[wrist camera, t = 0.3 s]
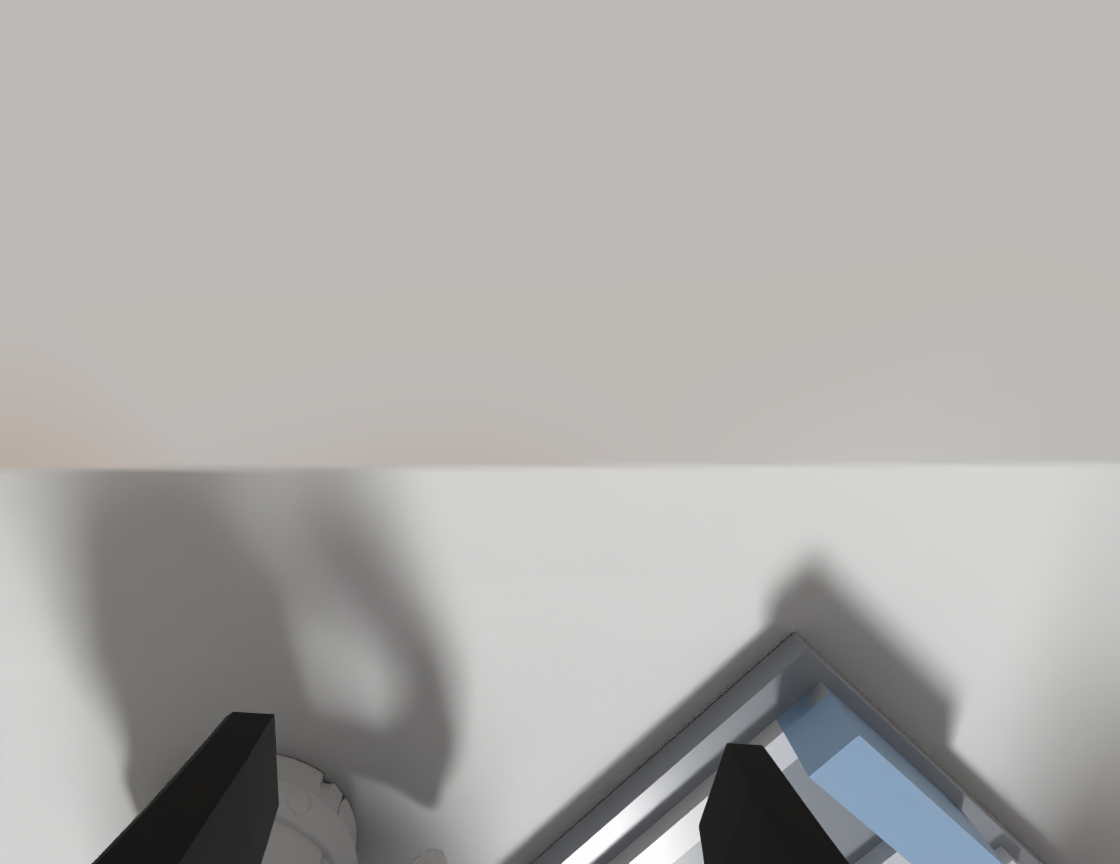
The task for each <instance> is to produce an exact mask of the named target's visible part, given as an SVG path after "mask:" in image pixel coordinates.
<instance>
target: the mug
mask: <svg viewBox="0 0 1120 864" xmlns="http://www.w3.org/2000/svg"><path fill="white" fill-rule="evenodd" d="M276 757H277V775H278V794H279V807H278V810H277V813H276V817H275V820H274V823H273V827H272V830H271V834H270V837H269V840H268V844H267V847H266V850H265V853H264V856H263V860H262V863H261V864H358V858H357V853H356V843H357V827H356V821H355V817H354V813H353V811H352V809H351V806H350V804H349V802H348V800H347V799H346V798H344V799H342V796H343V794H342V792H341V791H340V790H339V788H338V787H337V786H336V785H335V784H334V783H332V784H328V783H324V782H322V781H323V774H322V773H321V772H320V771H318V770H317V769H315V768H313V767H311V766H309V765H307V764H305V763H302V762H300V761H298V760H295V759H292V758H289V757H285V756H281V755H278V754H276ZM148 804H149V803H148ZM148 804H147V805H148ZM147 805H146V806H145V807H144V808H143V809H142V810H141V811H140V812H139V813H138V815H139V814H140V813H141V812H142V811H143V810H144V809H145V808H146V807H147ZM138 815H137V816H138ZM137 816H136V817H137ZM136 817H135V818H136ZM135 818H134V819H135ZM410 864H447V861H446V858H445V855H444V852H443V851H442V850H439V849H429V850H427V851H425V852H424V853H423V854H421V855H420V856H418V857H417V858H416V859H414V860H413V861H412V862H411V863H410Z"/></svg>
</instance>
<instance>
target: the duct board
mask: <svg viewBox="0 0 1120 864" xmlns="http://www.w3.org/2000/svg"><path fill="white" fill-rule="evenodd" d="M727 743H736V744H751V745H763V747H764V748H765V749H766V750H767V752H768V753H769V755H770V756H771V757H772V759H773V760H774V761H775V763H776V764H777V766H778V767H779V768H780V770H781V771H782V772H783V774H784V775H785V777H786V778H787V779H788V781H789V782H790V784H791V785H792V786H793V788H794V789H795V791H796V792H797V793H798V795H799V796H800V797H801V799H802V800H803V802H804V803H805V804H806V806H807V807H808V808H809V810H810V811H811V813H812V814H813V815H814V817H815V818H816V819H817V821H818V822H819V824H820V825H821V826H822V828H823V829H824V830H825V832H826V833H827V834H828V836H829V837H830V838H831V840H832V841H833V842H834V844H835V845H836V846H837V848H838V849H839V850H840V852H841V853H842V854H843V856H844V857H845V858H846V860H847V861H848V862H849V863H850V864H1044V863H1043V862H1042V861H1041V860H1040V859H1039V858H1038V857H1036V856H1035V855H1034V854H1033V853H1032V852H1031V851H1030V850H1029V849H1028V848H1027V847H1026V846H1025V845H1024V844H1022V843H1021V842H1020V841H1019V840H1018V839H1017V838H1016V837H1015V836H1014V835H1013V834H1012V833H1011V832H1010V831H1008V830H1007V829H1006V828H1005V827H1004V826H1003V825H1002V824H1001V823H1000V822H999V821H998V820H997V819H996V818H994V817H993V816H992V815H991V814H990V813H989V812H988V811H987V810H986V809H985V808H984V807H983V806H982V805H980V804H979V803H978V802H977V801H976V800H975V799H974V798H973V797H972V796H971V795H970V794H969V793H968V792H966V791H965V790H964V789H963V788H962V787H961V786H960V785H959V784H958V783H957V782H956V781H955V780H954V779H952V778H951V777H950V776H949V775H948V774H947V773H946V772H945V771H944V770H943V769H942V768H941V767H940V766H938V765H937V764H936V763H935V762H934V761H933V760H932V759H931V758H930V757H929V756H928V755H927V754H926V753H924V752H923V751H922V750H921V749H920V748H919V747H918V746H917V745H916V744H915V743H914V742H913V741H912V740H910V739H909V738H908V737H907V736H906V735H905V734H904V733H903V732H902V731H901V730H900V729H899V728H898V727H896V726H895V725H894V724H893V723H892V722H891V721H890V720H889V719H888V718H887V717H886V716H885V715H884V714H882V713H881V712H880V711H879V710H878V709H877V708H876V707H875V706H874V705H873V704H872V703H871V702H870V701H868V700H867V699H866V698H865V697H864V696H863V695H862V694H861V693H860V692H859V691H858V690H857V689H856V688H854V687H853V686H852V685H851V684H850V683H849V682H848V681H847V680H846V679H845V678H844V677H843V676H842V675H840V674H839V673H838V672H837V671H836V670H835V669H834V668H833V667H832V666H831V665H830V664H829V663H828V662H826V661H825V660H824V659H823V658H822V657H821V656H820V655H819V654H818V653H817V652H816V651H815V650H814V649H812V648H811V647H810V646H809V645H808V644H807V643H806V642H805V641H804V640H803V639H802V638H801V637H800V636H798V635H797V634H796V633H795V632H794V633H793V634H792V635H791V636H790V637H788V638H787V639H786V640H785V641H784V642H783V643H782V644H781V645H779V646H778V647H777V648H776V649H775V650H774V651H773V652H771V653H770V654H769V655H768V656H767V657H766V658H765V659H763V660H762V661H761V662H760V663H759V664H758V665H757V666H756V667H754V668H753V669H752V670H751V671H750V672H749V673H748V674H746V675H745V676H744V677H743V678H742V679H741V680H740V681H738V682H737V683H736V684H735V685H734V686H733V687H732V688H731V689H729V690H728V691H727V692H726V693H725V694H724V695H723V696H721V697H720V698H719V699H718V700H717V701H716V702H715V703H713V704H712V705H711V706H710V707H709V708H708V709H707V710H706V711H704V712H703V713H702V714H701V715H700V716H699V717H698V718H696V719H695V720H694V721H693V722H692V723H691V724H690V725H688V726H687V727H686V728H685V729H684V730H683V731H682V732H681V733H679V734H678V735H677V736H676V737H675V738H674V739H673V740H671V741H670V742H669V743H668V744H667V745H666V746H665V747H663V748H662V749H661V750H660V751H659V752H658V753H657V754H656V755H654V756H653V757H652V758H651V759H650V760H649V761H648V762H646V763H645V764H644V765H643V766H642V767H641V768H640V769H638V770H637V771H636V772H635V773H634V774H633V775H632V776H631V777H629V778H628V779H627V780H626V781H625V782H624V783H623V784H621V785H620V786H619V787H618V788H617V789H616V790H615V791H613V792H612V793H611V794H610V795H609V796H608V797H607V798H606V799H604V800H603V801H602V802H601V803H600V804H599V805H598V806H596V807H595V808H594V809H593V810H592V811H591V812H590V813H588V814H587V815H586V816H585V817H584V818H583V819H582V820H581V821H579V822H578V823H577V824H576V825H575V826H574V827H573V828H571V829H570V830H569V831H568V832H567V833H566V834H565V835H563V836H562V837H561V838H560V839H559V840H558V841H557V842H556V843H554V844H553V845H552V846H551V847H550V848H549V849H548V850H546V851H545V852H544V853H543V854H542V855H541V856H540V857H538V858H537V859H536V860H535V861H534V862H533V863H532V864H704V859H703V852H702V846H701V839H700V832H699V823H700V820H701V817H702V814H703V811H704V808H705V805H706V802H707V799H708V796H709V794H710V791H711V788H712V785H713V782H714V779H715V776H716V773H717V770H718V767H719V764H720V761H721V758H722V756H723V753H724V750H725V747H726V744H727Z"/></svg>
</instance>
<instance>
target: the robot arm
mask: <svg viewBox="0 0 1120 864" xmlns="http://www.w3.org/2000/svg"><path fill="white" fill-rule="evenodd" d="M278 807H279V794H278V775H277V757H276V738H275V719H274V714H259V713H243V712H232V713H231V714H229V715H228V716H227V717H225V719H224V720H223V721H222V722H221V723H220V724H219V726H218V727H217V728H216V729H215V730H214V732H213V733H212V734H211V735H210V736H209V737H208V739H207V740H206V741H205V742H204V743H203V744H202V745H201V747H200V748H199V749H198V750H197V751H196V752H195V753H194V755H193V756H192V757H191V758H190V759H189V760H188V761H187V763H186V764H185V765H184V766H183V767H182V768H181V769H180V770H179V772H178V773H177V774H176V775H175V776H174V777H173V778H172V779H171V780H170V781H169V783H168V784H167V785H166V786H165V787H164V788H163V789H162V790H161V791H160V792H159V794H158V795H157V796H156V797H155V798H154V799H153V800H152V801H151V802H150V803H149V804H148V805H147V807H146V808H145V809H144V810H143V811H142V812H141V813H140V814H139V815H138V816H137V817H136V818H135V819H134V820H133V821H132V822H131V823H130V824H129V825H128V827H127V828H126V829H125V830H124V831H123V832H122V833H121V834H120V835H119V836H118V837H117V838H116V839H115V840H114V841H113V842H112V843H111V844H110V845H109V847H108V848H107V849H106V850H105V851H104V852H103V853H102V854H101V855H100V856H99V857H98V858H97V859H96V860H95V861H94V862H93V863H92V864H261V863H262V860H263V856H264V853H265V850H266V847H267V844H268V840H269V837H270V834H271V830H272V827H273V823H274V820H275V817H276V813H277V810H278ZM699 832H700V839H701V846H702V852H703V859H704V864H850V863H849V862H848V861H847V860H846V858H845V857H844V856H843V854H842V853H841V852H840V850H839V849H838V848H837V846H836V845H835V844H834V842H833V841H832V840H831V838H830V837H829V836H828V834H827V833H826V832H825V830H824V829H823V828H822V826H821V825H820V824H819V822H818V821H817V819H816V818H815V817H814V815H813V814H812V813H811V811H810V810H809V808H808V807H807V806H806V804H805V803H804V802H803V800H802V799H801V797H800V796H799V795H798V793H797V792H796V791H795V789H794V788H793V786H792V785H791V784H790V782H789V781H788V779H787V778H786V777H785V775H784V774H783V772H782V771H781V770H780V768H779V767H778V766H777V764H776V763H775V761H774V760H773V759H772V757H771V756H770V755H769V753H768V752H767V750H766V749H765V748H764V747H763V745H751V744H736V743H727V744H726V747H725V750H724V753H723V756H722V758H721V761H720V764H719V767H718V770H717V773H716V776H715V779H714V782H713V785H712V788H711V791H710V794H709V796H708V799H707V802H706V805H705V808H704V811H703V814H702V817H701V820H700V823H699Z"/></svg>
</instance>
